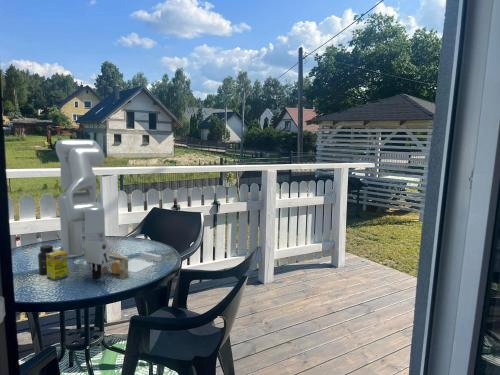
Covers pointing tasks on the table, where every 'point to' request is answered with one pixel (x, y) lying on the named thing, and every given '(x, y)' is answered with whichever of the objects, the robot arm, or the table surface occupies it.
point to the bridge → (122, 263)
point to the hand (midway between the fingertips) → (96, 278)
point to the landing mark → (138, 265)
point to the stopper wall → (151, 256)
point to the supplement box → (56, 265)
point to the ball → (115, 267)
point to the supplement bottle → (43, 258)
